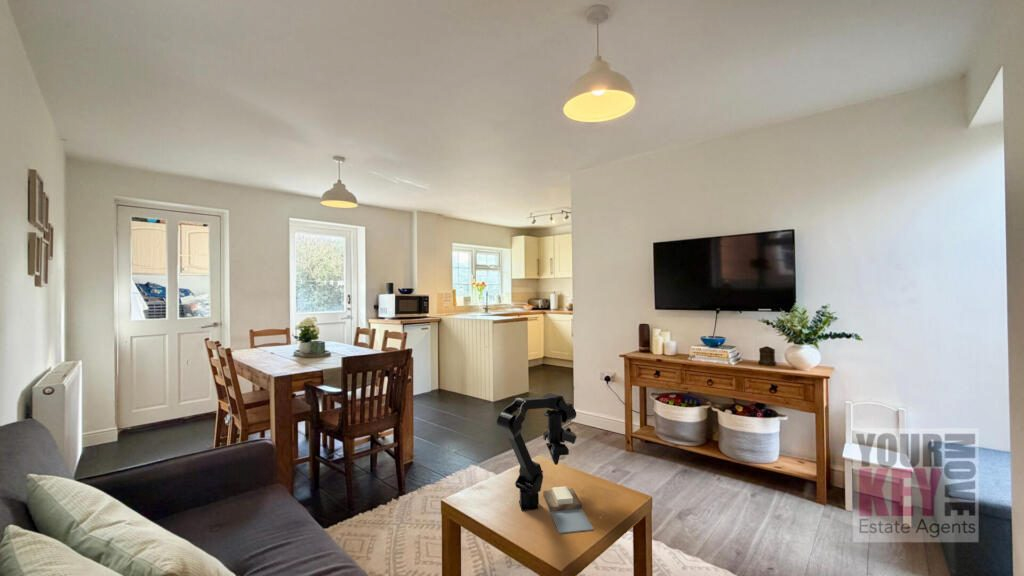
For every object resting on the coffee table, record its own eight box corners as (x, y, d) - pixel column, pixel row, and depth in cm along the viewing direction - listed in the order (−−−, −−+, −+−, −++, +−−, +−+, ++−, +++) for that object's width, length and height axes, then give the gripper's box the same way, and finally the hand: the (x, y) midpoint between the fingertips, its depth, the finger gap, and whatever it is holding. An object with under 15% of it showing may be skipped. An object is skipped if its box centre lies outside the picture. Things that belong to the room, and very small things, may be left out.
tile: (557, 504, 155) (557, 499, 155) (551, 492, 164) (551, 487, 164) (573, 503, 156) (573, 498, 156) (566, 491, 165) (566, 486, 165)
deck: (550, 512, 154) (550, 507, 154) (543, 495, 166) (543, 490, 166) (581, 509, 156) (581, 504, 156) (572, 493, 168) (572, 488, 168)
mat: (559, 533, 141) (559, 532, 141) (550, 512, 154) (550, 511, 154) (593, 530, 143) (593, 528, 143) (582, 509, 156) (582, 508, 156)
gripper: (581, 432, 161) (582, 472, 161) (568, 416, 179) (568, 452, 180) (553, 434, 159) (553, 475, 160) (542, 418, 178) (543, 454, 178)
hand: (555, 463), depth 169 cm, fingers closed
